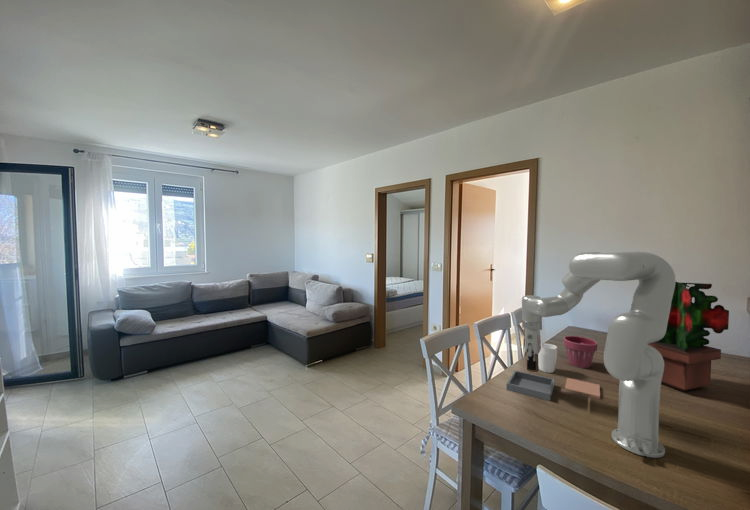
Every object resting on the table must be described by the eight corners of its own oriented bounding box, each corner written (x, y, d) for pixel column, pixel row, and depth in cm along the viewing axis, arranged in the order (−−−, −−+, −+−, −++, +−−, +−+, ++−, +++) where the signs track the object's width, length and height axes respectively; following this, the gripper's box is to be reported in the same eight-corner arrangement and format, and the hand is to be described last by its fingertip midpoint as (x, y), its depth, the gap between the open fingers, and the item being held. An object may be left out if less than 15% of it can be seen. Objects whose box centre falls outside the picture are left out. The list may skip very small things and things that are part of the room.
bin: (549, 403, 119) (550, 394, 119) (506, 391, 128) (506, 383, 128) (554, 387, 132) (554, 379, 132) (514, 377, 141) (514, 370, 141)
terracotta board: (600, 398, 122) (600, 396, 122) (564, 390, 129) (564, 388, 129) (599, 387, 132) (599, 384, 131) (566, 379, 139) (567, 377, 138)
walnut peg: (537, 372, 126) (537, 353, 126) (526, 370, 129) (525, 351, 128) (539, 369, 130) (538, 350, 129) (527, 367, 132) (527, 348, 132)
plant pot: (603, 367, 152) (604, 342, 151) (584, 372, 146) (585, 346, 146) (575, 357, 165) (575, 334, 164) (557, 361, 160) (557, 337, 159)
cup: (560, 374, 144) (560, 349, 144) (539, 373, 146) (539, 348, 145) (553, 366, 153) (553, 343, 152) (533, 365, 155) (534, 342, 154)
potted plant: (689, 399, 121) (693, 287, 119) (629, 376, 142) (632, 280, 140) (725, 391, 127) (730, 284, 125) (662, 370, 148) (666, 278, 146)
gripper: (538, 330, 120) (539, 376, 120) (544, 321, 133) (545, 363, 134) (518, 328, 124) (519, 372, 124) (525, 319, 138) (526, 359, 138)
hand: (532, 367), depth 129 cm, fingers closed on walnut peg, 4 cm apart
